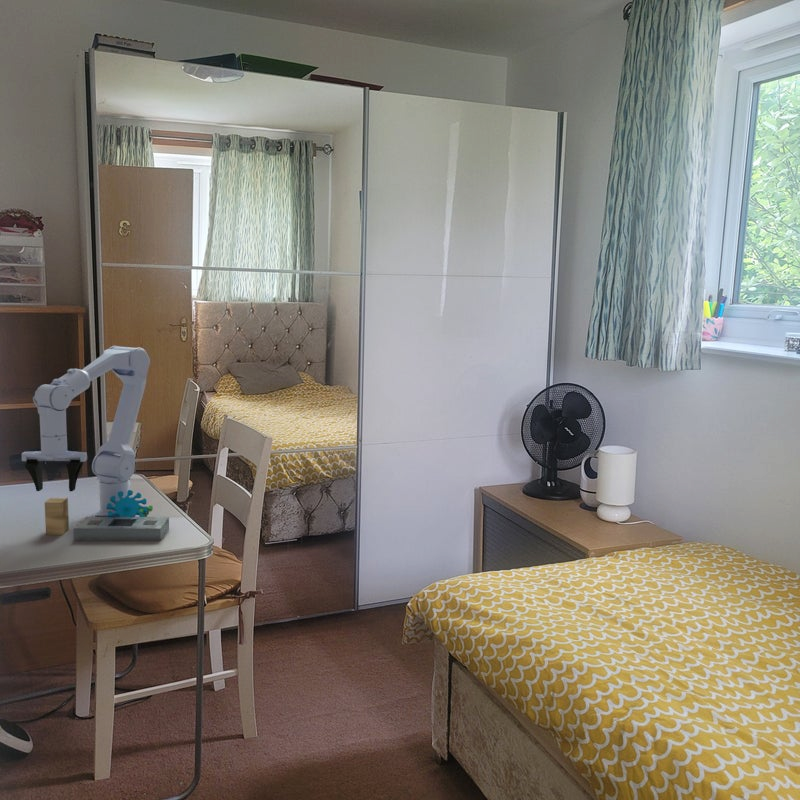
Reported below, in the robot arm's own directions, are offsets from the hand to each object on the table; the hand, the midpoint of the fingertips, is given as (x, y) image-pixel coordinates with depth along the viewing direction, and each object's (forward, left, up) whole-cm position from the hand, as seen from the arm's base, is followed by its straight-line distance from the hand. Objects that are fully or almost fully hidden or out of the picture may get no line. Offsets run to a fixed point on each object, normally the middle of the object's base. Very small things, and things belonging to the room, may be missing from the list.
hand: (55, 490), depth 184 cm
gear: (-8, +15, -11) cm, 20 cm away
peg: (0, 0, -10) cm, 10 cm away
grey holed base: (+2, +16, -10) cm, 19 cm away
